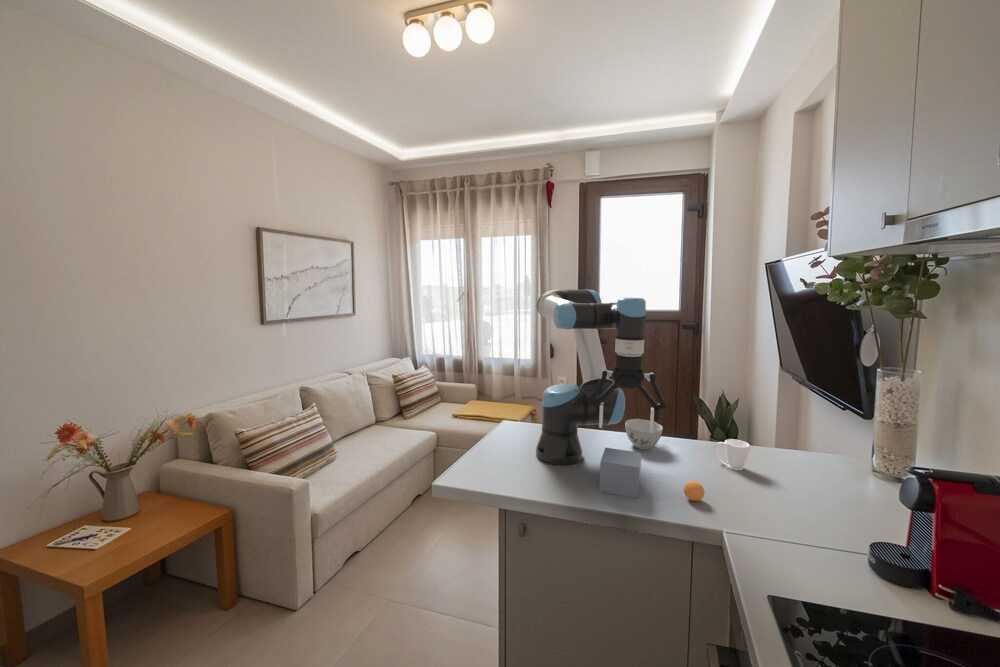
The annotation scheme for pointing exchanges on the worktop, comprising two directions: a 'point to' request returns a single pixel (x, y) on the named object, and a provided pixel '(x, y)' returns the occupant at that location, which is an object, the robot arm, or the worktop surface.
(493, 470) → the worktop surface
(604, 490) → the matte grey cuboid
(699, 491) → the ball
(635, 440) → the teacup
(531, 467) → the worktop surface
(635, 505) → the worktop surface
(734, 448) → the cup
